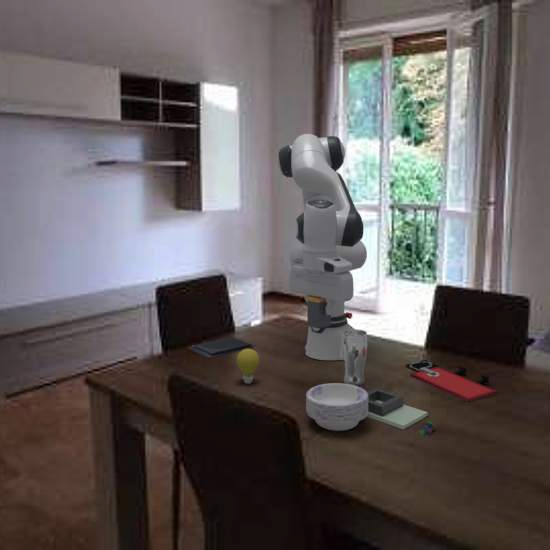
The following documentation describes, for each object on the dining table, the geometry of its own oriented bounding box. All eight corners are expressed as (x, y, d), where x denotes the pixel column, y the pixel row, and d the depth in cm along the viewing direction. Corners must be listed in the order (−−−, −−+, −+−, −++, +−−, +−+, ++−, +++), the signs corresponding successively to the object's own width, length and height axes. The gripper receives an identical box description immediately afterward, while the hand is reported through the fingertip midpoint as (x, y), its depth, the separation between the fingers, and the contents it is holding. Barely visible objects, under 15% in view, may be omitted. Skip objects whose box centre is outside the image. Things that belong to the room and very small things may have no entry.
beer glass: (339, 384, 174) (340, 334, 171) (345, 376, 180) (346, 328, 177) (363, 387, 171) (364, 336, 168) (368, 379, 178) (369, 330, 175)
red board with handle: (428, 361, 194) (393, 370, 186) (429, 353, 193) (393, 361, 186) (505, 393, 168) (468, 404, 161) (506, 383, 168) (469, 395, 160)
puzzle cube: (423, 428, 146) (423, 419, 145) (434, 431, 144) (435, 422, 143) (416, 434, 142) (416, 425, 142) (427, 437, 141) (427, 428, 140)
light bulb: (256, 386, 171) (256, 353, 170) (234, 385, 173) (233, 352, 171) (261, 378, 178) (261, 346, 176) (240, 377, 179) (239, 345, 177)
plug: (319, 322, 164) (319, 294, 163) (330, 325, 162) (331, 296, 160) (307, 325, 161) (307, 296, 160) (318, 328, 158) (318, 299, 157)
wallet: (207, 355, 196) (185, 344, 208) (207, 360, 196) (185, 349, 208) (257, 344, 208) (233, 334, 219) (257, 349, 208) (233, 339, 220)
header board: (357, 392, 167) (357, 381, 166) (427, 416, 152) (428, 403, 151) (332, 404, 159) (332, 391, 158) (403, 429, 144) (404, 416, 143)
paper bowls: (305, 410, 155) (305, 381, 154) (364, 411, 155) (364, 381, 153) (306, 436, 140) (306, 404, 139) (371, 437, 140) (372, 405, 139)
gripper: (283, 259, 163) (283, 308, 166) (342, 267, 149) (341, 321, 151) (299, 256, 168) (299, 304, 170) (357, 264, 153) (356, 317, 156)
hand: (319, 312), depth 161 cm, fingers closed on plug, 4 cm apart
